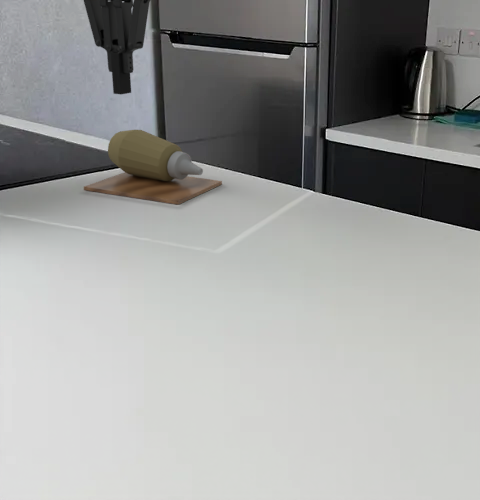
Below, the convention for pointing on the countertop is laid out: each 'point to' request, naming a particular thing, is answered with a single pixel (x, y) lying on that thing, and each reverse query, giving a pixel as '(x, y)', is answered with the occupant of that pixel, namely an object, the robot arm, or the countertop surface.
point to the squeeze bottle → (150, 156)
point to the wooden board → (154, 187)
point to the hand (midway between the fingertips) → (122, 93)
